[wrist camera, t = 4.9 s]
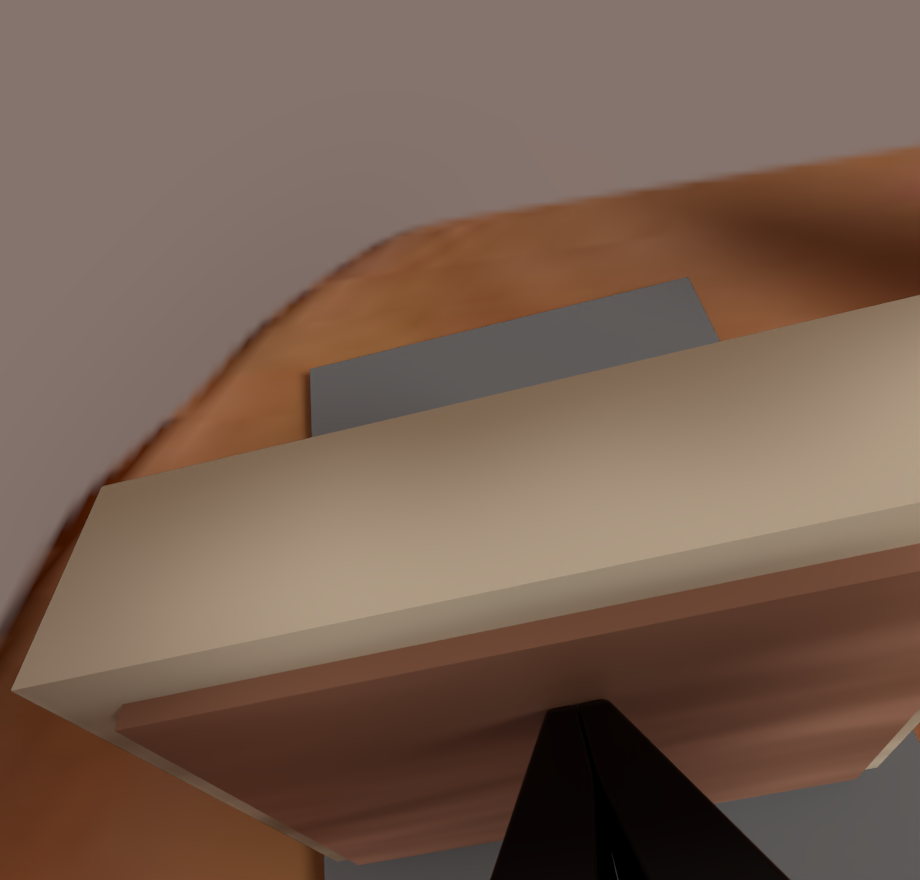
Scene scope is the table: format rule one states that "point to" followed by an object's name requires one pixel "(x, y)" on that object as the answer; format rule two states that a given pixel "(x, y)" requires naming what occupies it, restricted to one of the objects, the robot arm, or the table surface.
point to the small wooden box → (518, 591)
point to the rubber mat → (565, 355)
